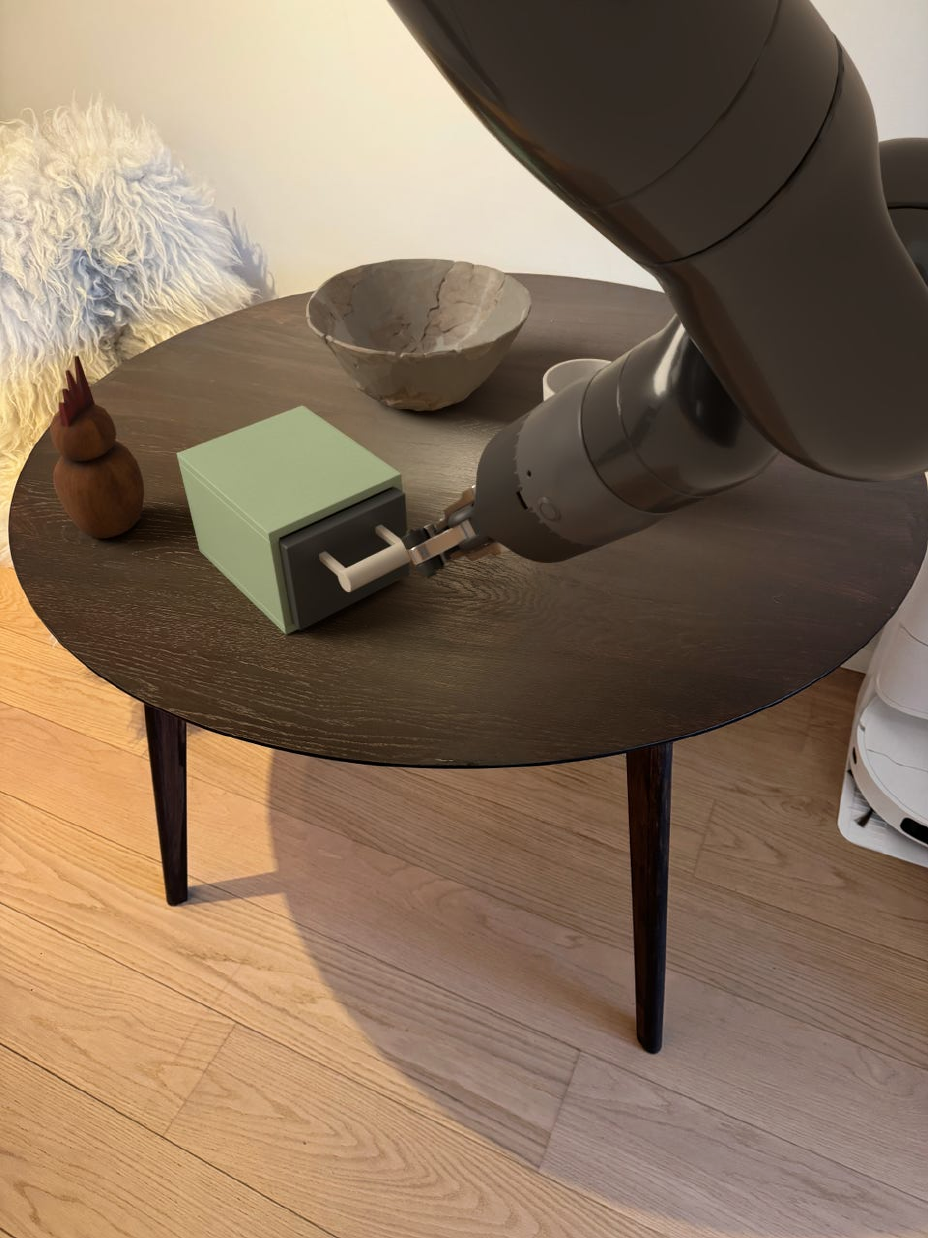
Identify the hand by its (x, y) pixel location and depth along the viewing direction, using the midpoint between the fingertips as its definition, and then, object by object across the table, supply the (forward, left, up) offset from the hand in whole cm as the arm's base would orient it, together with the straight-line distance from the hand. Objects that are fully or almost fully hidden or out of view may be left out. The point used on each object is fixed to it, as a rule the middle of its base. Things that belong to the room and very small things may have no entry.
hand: (431, 549), depth 60 cm
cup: (+16, +19, -12) cm, 28 cm away
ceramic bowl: (+5, +42, -12) cm, 44 cm away
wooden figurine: (-25, +23, -12) cm, 36 cm away
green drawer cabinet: (-9, +15, -12) cm, 21 cm away
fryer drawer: (-7, +12, -11) cm, 18 cm away
